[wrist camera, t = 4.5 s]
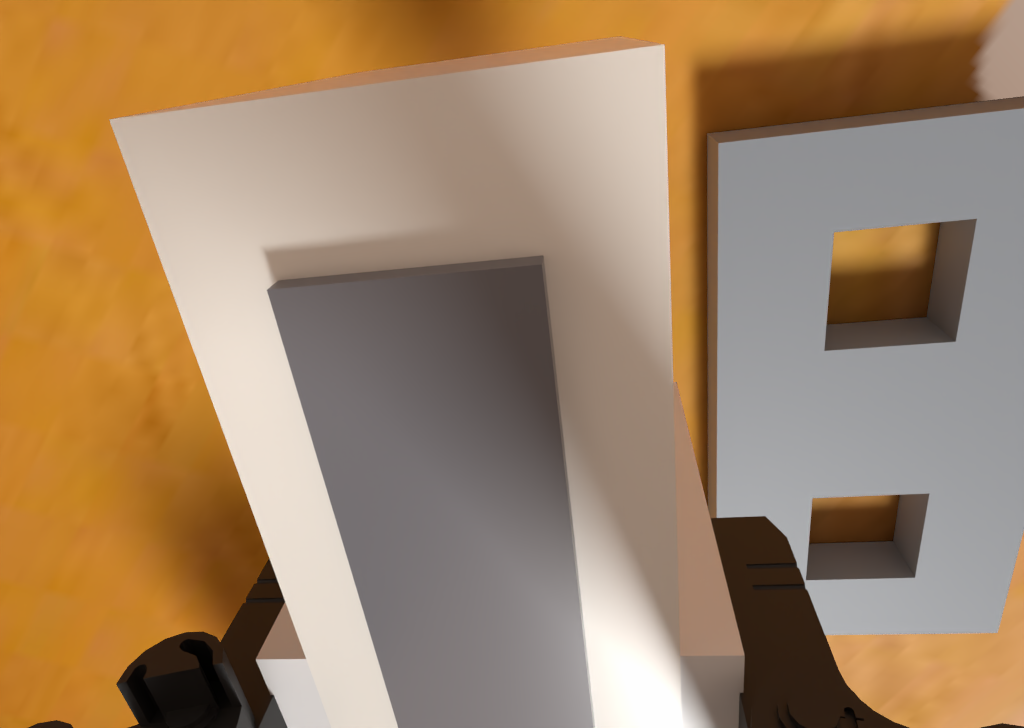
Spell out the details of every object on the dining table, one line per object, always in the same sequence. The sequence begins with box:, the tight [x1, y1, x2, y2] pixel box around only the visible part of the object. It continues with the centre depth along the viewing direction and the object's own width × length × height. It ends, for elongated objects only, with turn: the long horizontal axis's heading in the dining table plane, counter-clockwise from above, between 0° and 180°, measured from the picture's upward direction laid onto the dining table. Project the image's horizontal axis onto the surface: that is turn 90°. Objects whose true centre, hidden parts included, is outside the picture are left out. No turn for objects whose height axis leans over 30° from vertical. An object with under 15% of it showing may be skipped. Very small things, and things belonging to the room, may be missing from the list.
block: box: [110, 36, 682, 728], centre depth 13 cm, size 16×4×9 cm, turn 7°
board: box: [707, 97, 1024, 635], centre depth 29 cm, size 24×13×2 cm, turn 7°
